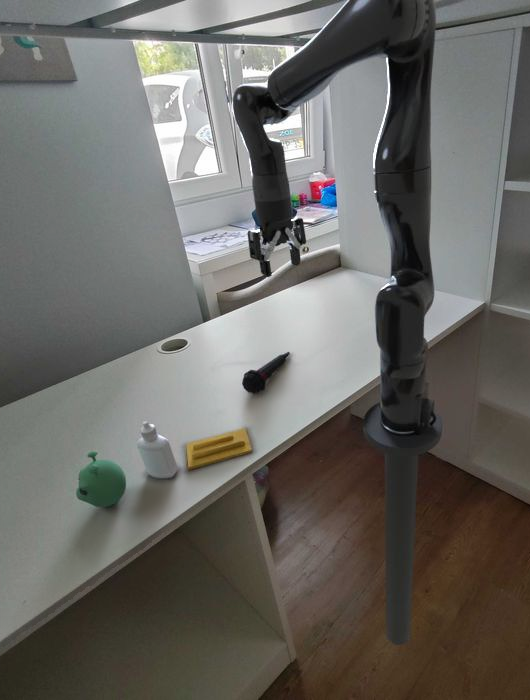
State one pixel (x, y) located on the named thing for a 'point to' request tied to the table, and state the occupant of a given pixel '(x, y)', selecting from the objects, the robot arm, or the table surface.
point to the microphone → (262, 375)
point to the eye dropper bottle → (156, 453)
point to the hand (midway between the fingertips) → (282, 270)
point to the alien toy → (101, 482)
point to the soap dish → (218, 448)
